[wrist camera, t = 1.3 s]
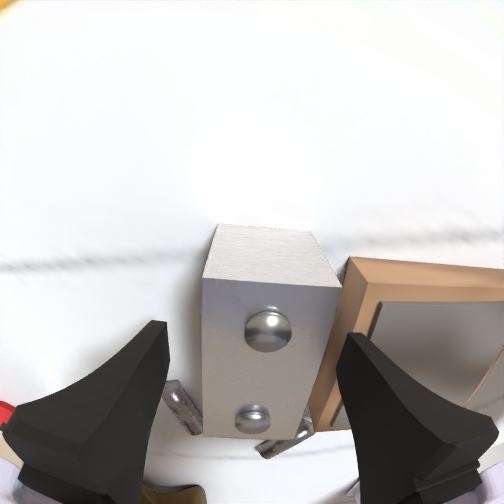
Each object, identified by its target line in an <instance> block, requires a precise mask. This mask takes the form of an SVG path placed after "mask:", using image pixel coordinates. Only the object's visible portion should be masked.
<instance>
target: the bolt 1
mask: <svg viewBox="0 0 504 504" xmlns="http://www.w3.org/2000/svg"><path fill="white" fill-rule="evenodd" d="M161 397H162V398H163V399H164V401H165V402H166V404H167V405H168V406H169V408H170V409H171V411H172V412H173V413H174V415H175V416H176V417H177V419H178V420H179V421H180V423H181V424H182V425H183V427H184V428H185V429H186V431H187V432H188V433H189V434H191V435H199V434H201V433H202V432H203V419H202V417H201V416H200V414H199V413H198V411H197V410H196V408H195V407H194V405H193V404H192V402H191V401H190V399H189V397H188V396H187V394H186V393H185V391H184V390H183V388H182V386H181V385H180V383H179V381H178V380H172V381H166V383H165V386H164V389H163V392H162V395H161Z"/></svg>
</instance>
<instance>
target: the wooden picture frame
mask: <svg viewBox="0 0 504 504" xmlns="http://www.w3.org/2000/svg"><path fill="white" fill-rule="evenodd" d="M348 332H361V333H362V334H364V335H365V336H366V337H367V338H368V339H369V340H370V341H371V342H372V343H374V344H375V345H376V346H377V347H378V348H379V349H380V350H381V351H382V352H383V353H384V354H385V355H386V356H387V357H389V358H390V359H391V360H392V361H393V362H394V363H395V364H396V365H397V366H399V367H400V368H401V369H402V370H403V371H405V372H406V373H407V374H408V375H410V376H411V377H412V378H413V379H415V380H416V381H417V382H419V383H420V384H422V385H423V386H425V387H426V388H428V389H429V390H431V391H432V392H434V393H435V394H437V395H439V396H441V397H443V398H444V399H446V400H448V401H450V402H452V403H454V404H456V405H459V406H461V407H463V408H465V407H466V406H467V405H468V403H469V402H470V400H471V399H472V398H473V396H474V395H475V393H476V392H477V390H478V389H479V387H480V386H481V384H482V383H483V381H484V380H485V378H486V377H487V375H488V373H489V372H490V370H491V369H492V367H493V365H494V364H495V362H496V360H497V358H498V357H499V355H500V353H501V351H502V350H503V348H504V270H503V269H491V268H480V267H468V266H456V265H445V264H433V263H421V262H409V261H397V260H385V259H372V258H360V257H349V261H348V265H347V270H346V274H345V278H344V282H343V286H342V291H341V295H340V299H339V303H338V307H337V310H336V314H335V318H334V321H333V325H332V328H331V332H330V335H329V338H328V342H327V345H326V348H325V352H324V355H323V358H322V361H321V364H320V368H319V371H318V374H317V377H316V380H315V383H314V386H313V389H312V392H311V395H310V398H309V400H308V403H309V408H310V413H311V418H312V424H313V429H314V432H324V431H338V430H349V429H351V427H350V423H349V420H348V417H347V414H346V411H345V407H344V404H343V401H342V398H341V395H340V391H339V387H338V381H337V375H336V369H335V368H336V365H337V363H338V360H339V357H340V354H341V351H342V348H343V345H344V342H345V339H346V336H347V333H348Z"/></svg>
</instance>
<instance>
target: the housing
mask: <svg viewBox="0 0 504 504" xmlns="http://www.w3.org/2000/svg"><path fill="white" fill-rule="evenodd" d="M341 291H342V285H341V284H340V282H339V280H338V278H337V276H336V275H335V273H334V271H333V269H332V267H331V266H330V264H329V262H328V260H327V259H326V257H325V255H324V253H323V251H322V250H321V248H320V246H319V245H318V243H317V241H316V239H315V238H314V236H313V234H312V233H311V232H308V231H297V230H287V229H276V228H264V227H253V226H241V225H229V224H218V225H217V228H216V232H215V235H214V238H213V242H212V245H211V248H210V252H209V255H208V259H207V262H206V265H205V269H204V272H203V276H202V312H201V356H202V407H203V433H204V436H210V437H222V438H237V439H267V440H286V439H294V438H295V435H296V432H297V430H298V427H299V425H300V422H301V419H302V417H303V414H304V411H305V408H306V406H307V403H308V400H309V397H310V394H311V391H312V389H313V386H314V383H315V380H316V377H317V374H318V371H319V368H320V364H321V361H322V358H323V355H324V352H325V348H326V345H327V342H328V338H329V335H330V332H331V328H332V325H333V321H334V318H335V314H336V310H337V307H338V303H339V299H340V295H341Z"/></svg>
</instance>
